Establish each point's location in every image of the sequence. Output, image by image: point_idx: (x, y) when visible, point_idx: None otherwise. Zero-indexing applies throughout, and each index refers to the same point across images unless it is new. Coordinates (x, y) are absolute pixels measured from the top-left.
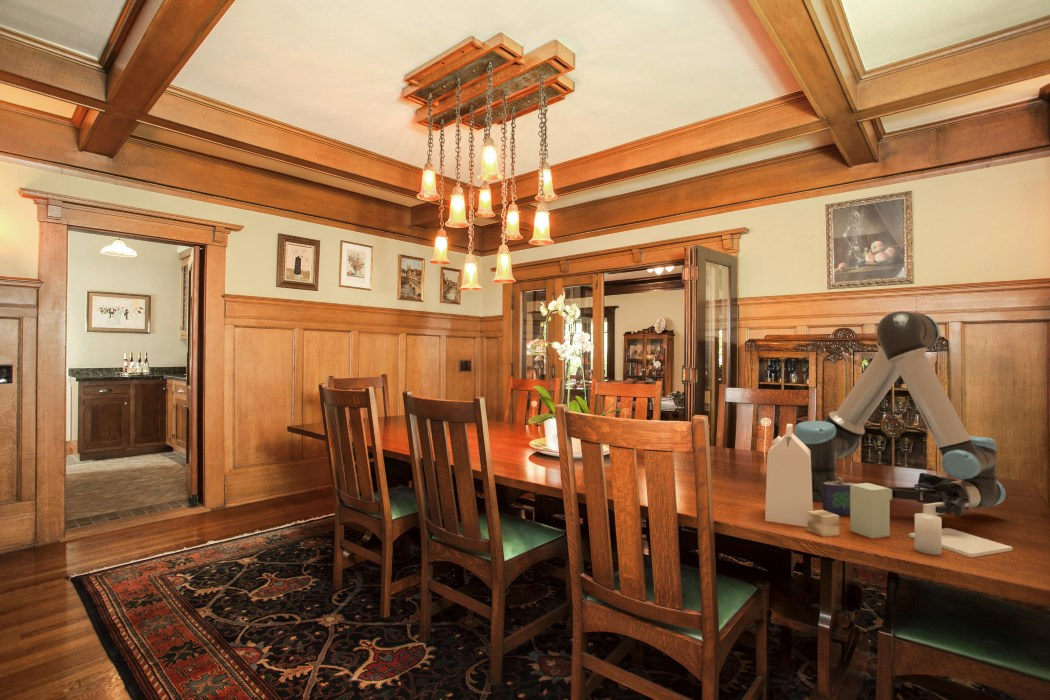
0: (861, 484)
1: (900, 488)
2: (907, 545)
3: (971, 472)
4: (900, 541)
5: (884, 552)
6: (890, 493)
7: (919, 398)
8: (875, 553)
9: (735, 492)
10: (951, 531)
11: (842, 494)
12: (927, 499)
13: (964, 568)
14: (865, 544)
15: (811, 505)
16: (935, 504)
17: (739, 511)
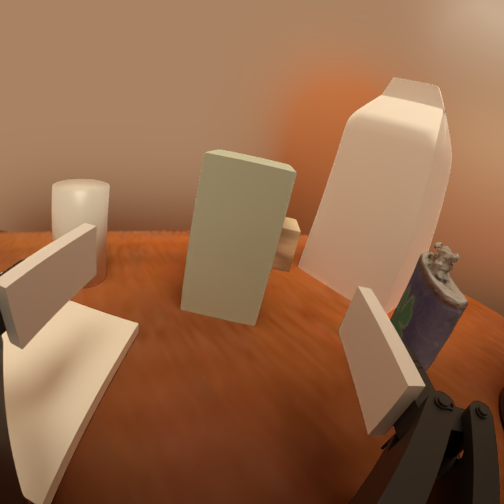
0: (281, 165)
1: (470, 502)
2: (122, 278)
3: None
4: (142, 290)
5: (145, 238)
6: (387, 394)
7: None
8: (154, 232)
9: (498, 321)
10: (19, 448)
11: (408, 299)
12: None
13: (30, 240)
14: (184, 249)
15: (314, 223)
16: (44, 248)
17: None
